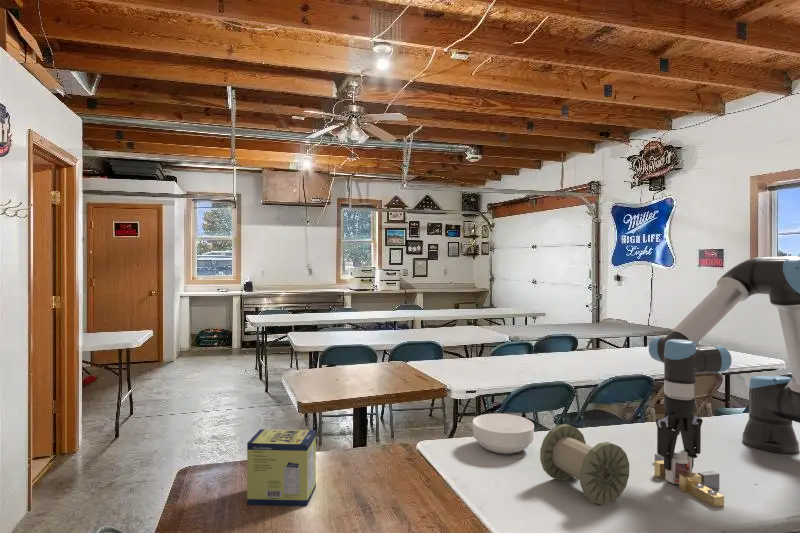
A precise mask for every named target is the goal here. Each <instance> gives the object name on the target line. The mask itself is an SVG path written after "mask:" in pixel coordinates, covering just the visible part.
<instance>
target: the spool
mask: <svg viewBox="0 0 800 533" xmlns="http://www.w3.org/2000/svg"><path fill="white" fill-rule="evenodd" d="M539 450H540V451H539V454H540V455H539V457H540V458H539V459H540V460H539V462H540V464H541V466H542V470H543V471H544V472H545V473H546V474H547V475H548V476H549V477H550V478H552V479H555V480H558V481H566V480H569V479H571V478H576V479H577V480H579V484H580V487H581V490H582V494H584V495H585V496H586V498H587V500H589V501H591V502H592V503H594V504H597V505H600V506H604V505H607V504H612V503H614V502H615V501H616V500H617V499H619V498H620V497H621V495H622V494H623V492H624V490H625V489H626V487H627V485H628V481H629V477H630V461H629V458H628V455H627V453H626V451H625V450H623V448H622V447H621V446H619V445H618V444H615V443H612V442H609V441H605V442H600V443H597V444H596V445H594V446H590V445H588V444H587V442H586V440H585V436H584V434H583V432H581V431H580V430H579V429H578V428H577V427H575V426H573V425H570V424H567V423H564V424H558V425H556V426H554V427H553V428H552V429H550V430H549V431H548V433H547V434H546V436H544V438H543V440H542V443H541V446H540V449H539Z"/></svg>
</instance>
